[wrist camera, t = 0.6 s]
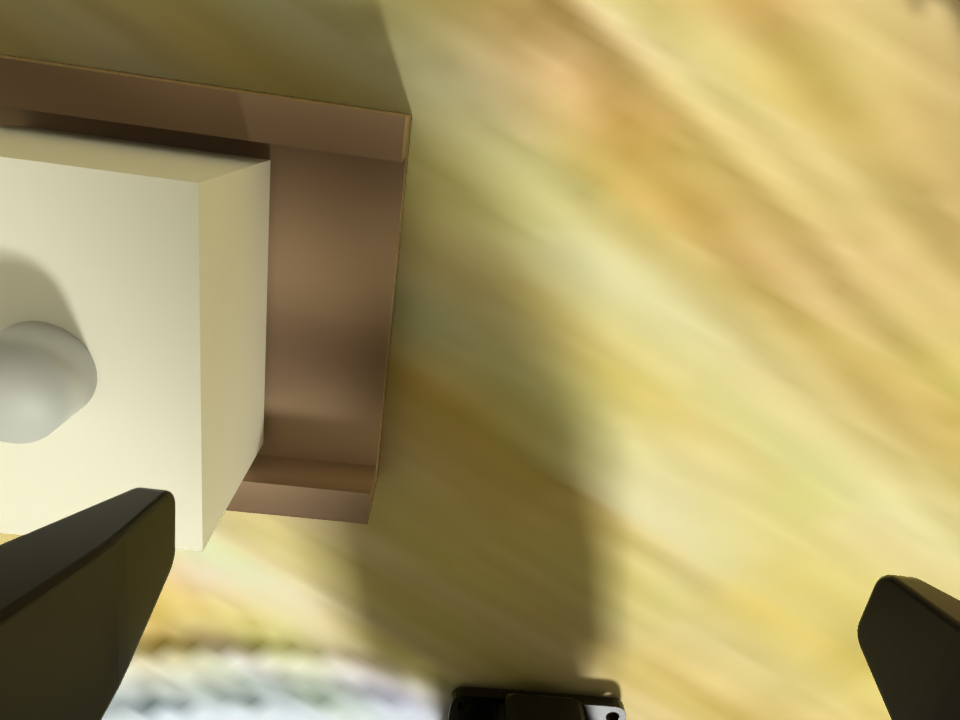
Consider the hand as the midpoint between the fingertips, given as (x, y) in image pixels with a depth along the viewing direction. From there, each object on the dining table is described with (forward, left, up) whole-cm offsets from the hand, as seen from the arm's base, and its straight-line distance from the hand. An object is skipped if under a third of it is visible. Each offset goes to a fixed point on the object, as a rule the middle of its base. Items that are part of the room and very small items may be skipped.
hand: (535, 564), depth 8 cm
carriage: (-1, +9, -11) cm, 14 cm away
